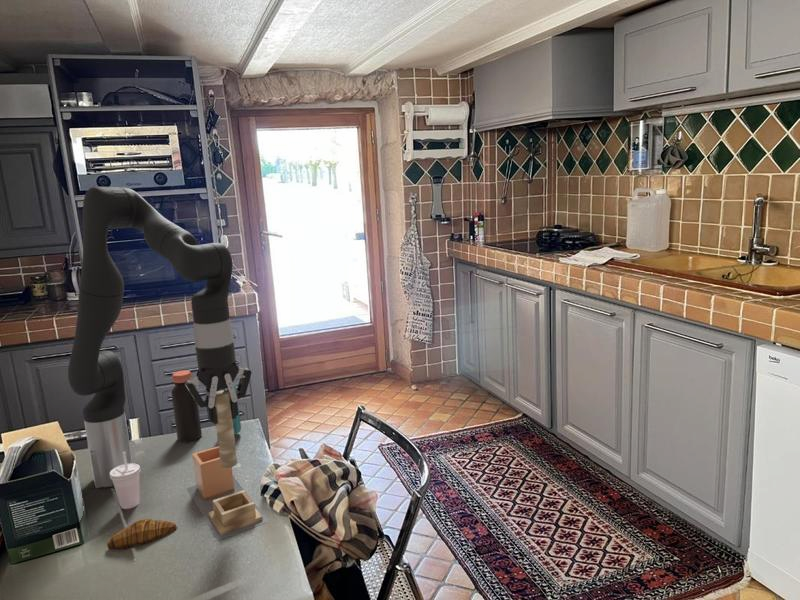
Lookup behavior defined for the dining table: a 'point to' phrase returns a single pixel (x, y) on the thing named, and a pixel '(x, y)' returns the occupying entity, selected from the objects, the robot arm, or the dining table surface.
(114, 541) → the croissant
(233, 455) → the dowel
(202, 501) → the slate board
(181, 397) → the vinegar
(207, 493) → the deep cup
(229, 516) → the short stand
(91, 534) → the dining table surface
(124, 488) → the smoothie
